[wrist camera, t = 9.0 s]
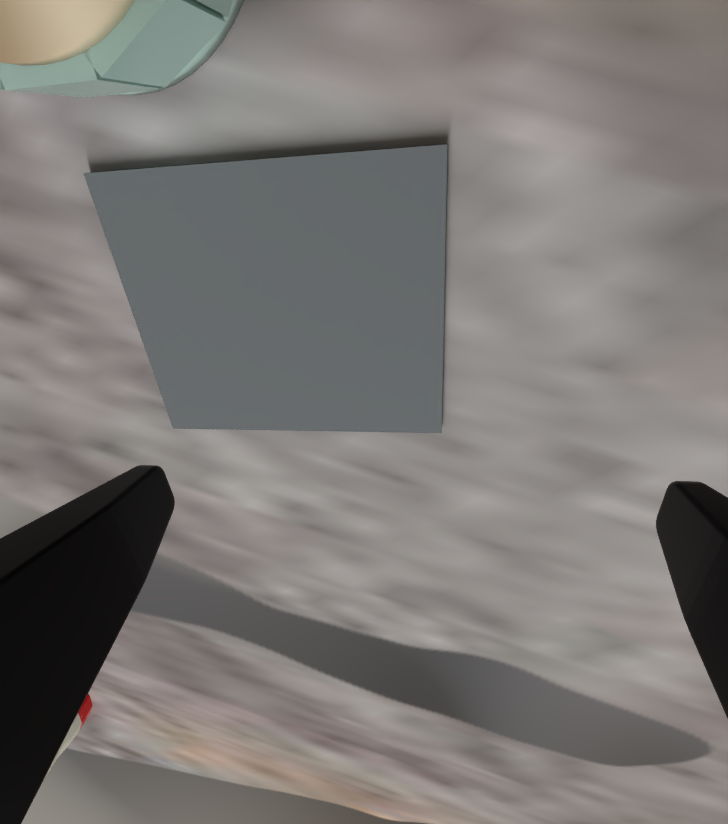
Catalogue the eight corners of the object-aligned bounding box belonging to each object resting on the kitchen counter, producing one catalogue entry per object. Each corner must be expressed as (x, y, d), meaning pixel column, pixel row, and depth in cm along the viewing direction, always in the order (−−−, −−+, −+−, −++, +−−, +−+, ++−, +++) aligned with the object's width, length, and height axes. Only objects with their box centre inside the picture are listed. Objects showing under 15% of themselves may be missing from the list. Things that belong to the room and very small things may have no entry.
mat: (447, 143, 16) (447, 144, 16) (441, 428, 22) (441, 432, 22) (90, 172, 18) (83, 173, 18) (176, 424, 24) (173, 428, 24)
